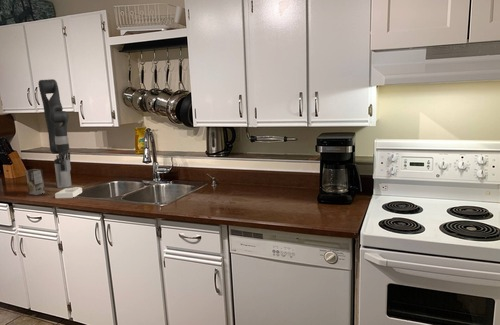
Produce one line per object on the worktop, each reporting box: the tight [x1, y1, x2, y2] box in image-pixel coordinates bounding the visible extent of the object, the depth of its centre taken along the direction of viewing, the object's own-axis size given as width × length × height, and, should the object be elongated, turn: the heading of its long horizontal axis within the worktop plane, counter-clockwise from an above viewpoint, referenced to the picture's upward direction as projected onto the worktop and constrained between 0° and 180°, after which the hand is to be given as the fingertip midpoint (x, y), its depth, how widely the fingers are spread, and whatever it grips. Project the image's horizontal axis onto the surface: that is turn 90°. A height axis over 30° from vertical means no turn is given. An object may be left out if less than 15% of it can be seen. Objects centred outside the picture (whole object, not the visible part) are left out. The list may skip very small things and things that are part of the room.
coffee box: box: [25, 168, 46, 196], centre depth 248 cm, size 9×6×16 cm
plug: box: [59, 158, 72, 172], centre depth 238 cm, size 5×5×7 cm
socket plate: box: [54, 186, 83, 199], centre depth 242 cm, size 14×11×4 cm
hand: (65, 169), depth 238 cm, fingers closed on plug, 5 cm apart
